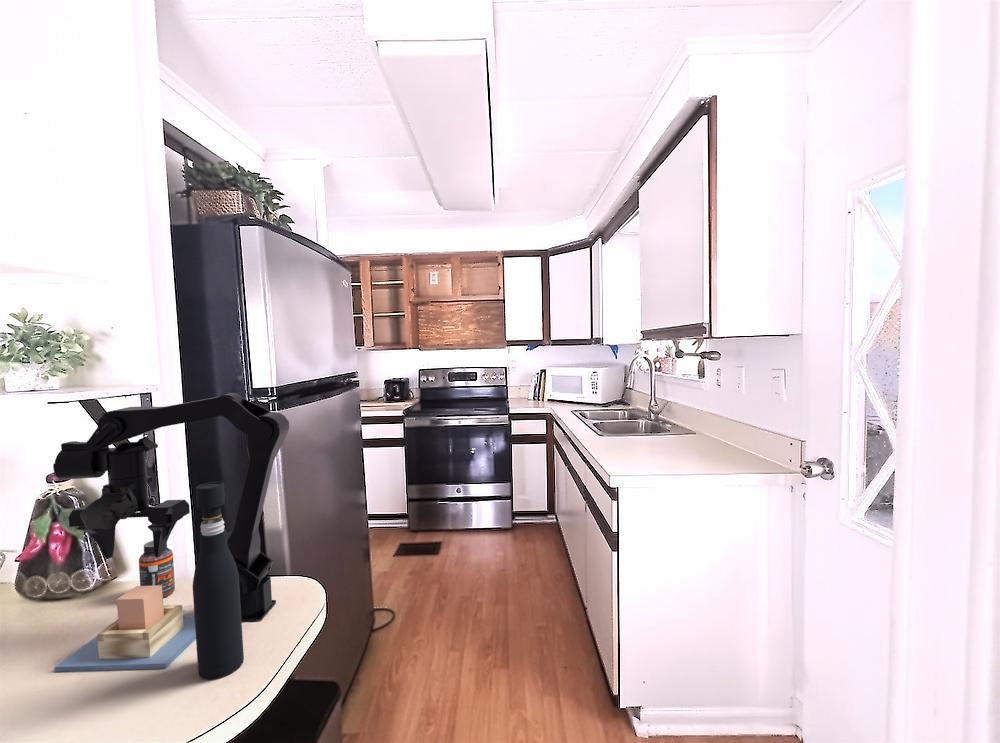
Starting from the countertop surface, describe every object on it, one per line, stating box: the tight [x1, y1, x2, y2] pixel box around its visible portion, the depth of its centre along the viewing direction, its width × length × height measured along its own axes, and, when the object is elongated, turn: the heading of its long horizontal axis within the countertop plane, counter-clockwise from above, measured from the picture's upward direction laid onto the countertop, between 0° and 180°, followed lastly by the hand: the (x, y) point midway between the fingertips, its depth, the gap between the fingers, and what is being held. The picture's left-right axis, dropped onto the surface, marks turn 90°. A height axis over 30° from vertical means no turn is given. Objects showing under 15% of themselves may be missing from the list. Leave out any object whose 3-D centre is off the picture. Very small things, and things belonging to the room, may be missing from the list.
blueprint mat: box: [54, 615, 196, 673], centre depth 85 cm, size 18×14×1 cm
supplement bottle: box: [138, 540, 176, 599], centre depth 102 cm, size 6×6×11 cm
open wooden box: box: [96, 604, 184, 659], centre depth 84 cm, size 8×8×5 cm
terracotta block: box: [116, 585, 164, 630], centre depth 84 cm, size 4×4×6 cm
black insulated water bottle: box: [191, 481, 245, 681], centre depth 77 cm, size 6×6×30 cm
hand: (133, 557), depth 90 cm, fingers open, 9 cm apart
